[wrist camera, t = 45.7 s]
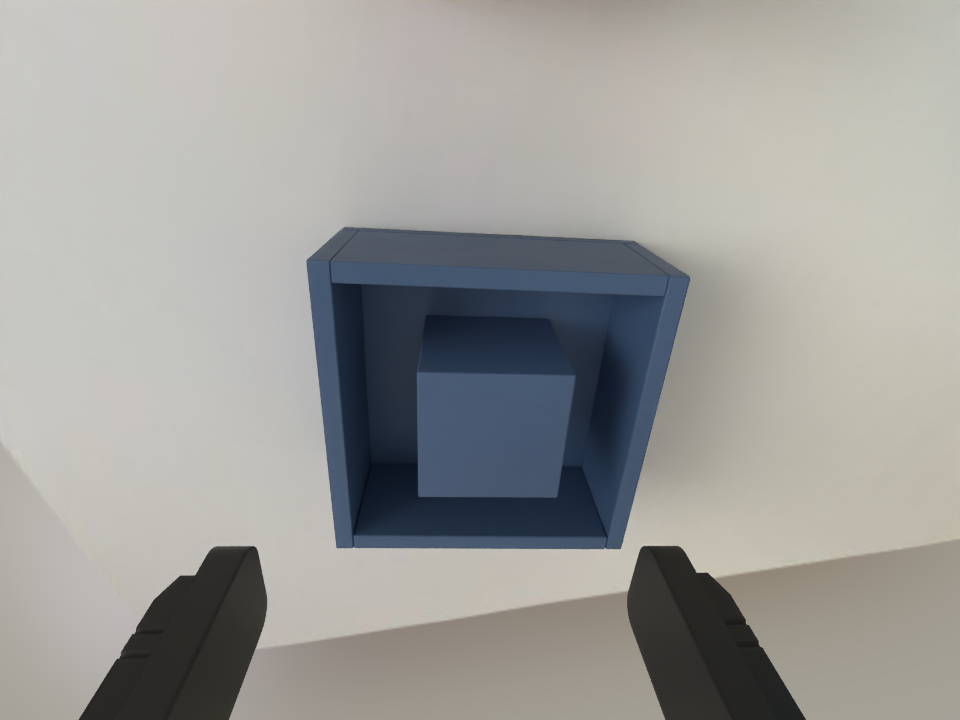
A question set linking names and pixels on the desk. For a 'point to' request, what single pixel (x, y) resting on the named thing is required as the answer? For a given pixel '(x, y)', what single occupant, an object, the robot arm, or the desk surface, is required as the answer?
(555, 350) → the slate block
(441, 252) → the slate bin
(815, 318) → the desk surface
